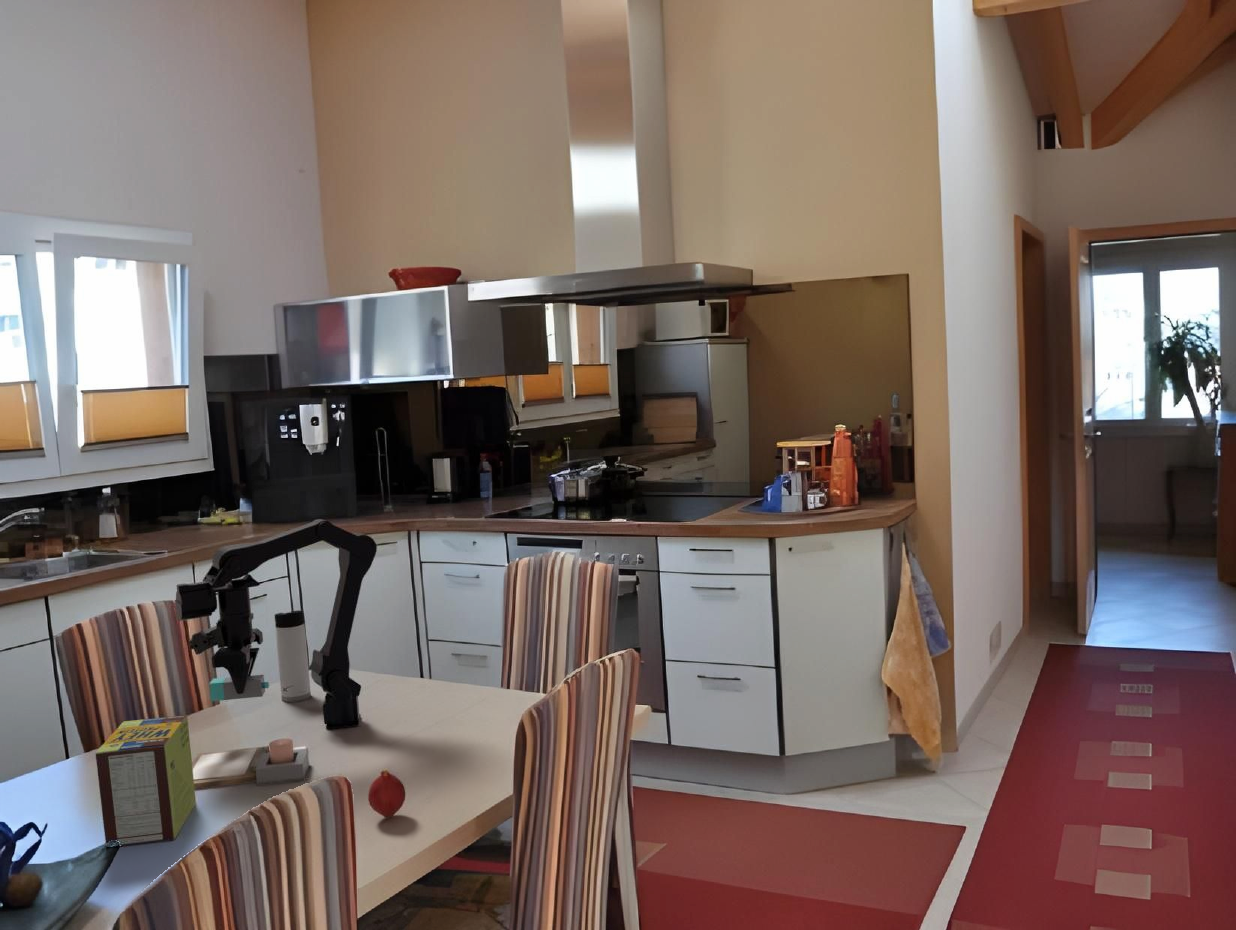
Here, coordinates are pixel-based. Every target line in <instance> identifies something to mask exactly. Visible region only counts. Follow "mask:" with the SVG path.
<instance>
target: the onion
mask: <svg viewBox="0 0 1236 930" xmlns="http://www.w3.org/2000/svg"><path fill="white" fill-rule="evenodd" d="M367 799H368V800H367V801H368V804H369V806H370V807H371V809H372V810H373V811H375V813H378V814H379V815H381V816H383V817H384V818H385V819H391V818H392V817H393V816H394V815H395V814H396V813H398V812H399V811H400V809H401V808H402V807H403V804H405V800H406V789H405V786H404V784H403V782H402V781H401V779H399V778H398V776H396V775H394V774H392V773H390V772H389V770H388V769H382V770H381V771H380V775H378V776H377V777H376V778H375V779H374V780H373V781H372V783H371V784H370V786H369V791H368V794H367Z"/></svg>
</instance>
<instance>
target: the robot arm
mask: <svg viewBox="0 0 1236 930" xmlns="http://www.w3.org/2000/svg"><path fill="white" fill-rule="evenodd" d="M319 542H325V543H327V544H329V545H331V546H333V547H335V548H336V549H338V557H337V559H338V566H339V567H338V568H339V580H338V584H337V588H336V592H335V599H334V602H333V606H332V610H331V611H332V612H331V616H330V621H329V624H328V629H327V634H326V638H325V643H324V644H323V645H322V647H321V648H320V650H317V649H313V651H312V659H311V663H310V665H309V666H308V668H309V671H310V672H311V673H310V677H311V679H312V680H313V682H314V683H315V684H316V685H318V686H319V687H321V690H322V691H323V692H324V693H326V694H325V696H324V701H323V703H322V711H323V712H322V713H323V723H324V725H325V729H326V730H334V729H344V728H350V727H359V726H360V722H361V717H362V715H361V713H360V707H359V696H360V693H361V691H362V685H361V684H359V683H358V682H357V681H356V680H354V679H352V678H351V677H350V656H349V644H350V643H349V642H350V639H351V634H352V629H353V624H354V619H355V617H356V612H357V611H356V610H357V607H358V606H357V605H358V601H359V599H360V598H359V596H360V593H361V588H362V583H363V580H364V577H365V576H366V575H367V574H368V572H369V570H370V569H371V567H372V564H373V562H374V560H375V558H376V554H377V549H378V546H377V543H376V541H375V540H374V538H372V536H370V535H366V534H364V533H360V532H357V531H354V532H353V531H351V532H350V531H348V530H345V529H343V528H341V527H339V526H337V525H335V524H332V522H330V521H329V520H325V519H321V518H319V519H314V520H313V521H312V522H309V523H306V524H303V525H301V526H298V527H295V528H292V529H290V530H287V531H283V532H281V533H278V534H274V535H272V536H269V537H266V538H263V539H261V540H257V541H252V542H243V543H237V544H231V545H225V546H222V547H220V548H218V549H217V550H216V551H215V553H214V554H213V557H212V561H211V562H212V565H211V566H210V567H209V569H208V571H207V573H206V574H205V575H204V577H203V579H202V581H200V582H193V583H178V584H176V592H175V600H174V605H175V612H176V615H177V618H178V621H179V622H181V621H187V620H194V619H199V618H200V619H202V618H206V617H211V616H212V615H213V613H215V612H216V610H217V609H218V613H219V619H218V620H217V621H216V623H215V624H216V625H215V626H212V627H210V628H207V629H205V630H199V631H198V632H196V633H195V632H194V633H193V634H192V635H191V638H190V639H189V640H188V641H189V643H190V645H189V648H190V649H191V650H193V651H194V653H195V655H196V656H197V655H201V654H202V653H203V652H204V651H207V650H209V649H211V648H213V647H215V646H217V651H216V652H215V653H214V654H213V655H212V656H211V667H212V668H214V669H219V668H224V669H225V670H226V671H228V672H227V673H228V674H229V678H231V679H232V682H233V684H234V687H235V689H236V692H237V694H242V693H243V692H244V689H245V685H246V681H247V678H248V676H252V672H253V670H254V667H255V662H256V660H257V657H258V654H259V651H260V648H259V647H253V646H252V644H253V643H257V645H258V646H259V645H262V643H263V642H264V638H263V637H264V635H263V634H264V633H263V631H261V630H260V629H259V628H253V623H252V622H253V619H254V612H252V608H251V598H250V588H254V587H259V586H260V585H261V584H260V582H259V581H258V580H256V579H255V578H253V576H252V575H251V574H250V573H252V572H253V571H255V570H257V569H258V568H259V567H261V565H263V564H265V563H266V562H268V561H271V560H273V559H275V558H278V557H282V556H283V555H286V554H289V553H292V552H295V551H297V550H301V549H303V548H305V547H309V546H311V545H314V544H316V543H319Z"/></svg>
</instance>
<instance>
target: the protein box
mask: <svg viewBox="0 0 1236 930" xmlns="http://www.w3.org/2000/svg"><path fill="white" fill-rule="evenodd" d="M192 760H193V759H192V750H191V740H190V731H189V719H188V715H187V714H181V715H174V716H165V717H155V718H147V719H137V720H126V721H122V722H121V724H120V725H118V728H116V729H115V731H114V732H113V733H112V734H111V735H110V736H109V737H108V738H107V740H105V742H104V743H102V745H101V746H100V747H99V748H98V749H97V751H96V752H95V761H96V768H97V778H98V787H99V797H100V806H101V814H102V823H103V832H104V839H105V844H106V843H108V842H109V841H111V840H117V841H119V842H120V845H121V847H126V846H134V845H136V846H137V845H143V844H144V845H145V844H152V843H159V842H169V841H174V840H175V839H176V838H177V835H178V834H179V833H180V831H181V829H182V827H183V826H184V824H185V821H186V820H187V819H188V817H189V815H190V814H191V812H192V810H193V808H194V807H195V804H196V793H195V790H196V789H194V779H193V768H192V762H193V761H192Z"/></svg>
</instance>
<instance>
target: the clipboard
mask: <svg viewBox="0 0 1236 930" xmlns="http://www.w3.org/2000/svg"><path fill="white" fill-rule="evenodd" d="M263 753H270V748H269V745H266V746H265V745H264V746H263V745H262V746H254V747H248V748H247V747H246V748H237V749H228V750H220V751H210V752H209V751H208V752H201V753H197V754H196V756H195V758H194V759H193V761H192V768H193V779H194V790H199V789H206V788H207V789H208V788H216V787H217V788H218V787H223V786H232V785H241V784H250V783H257V780H256V767H257V765H258V763H259V760H260V758H261V756H262V754H263Z"/></svg>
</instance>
